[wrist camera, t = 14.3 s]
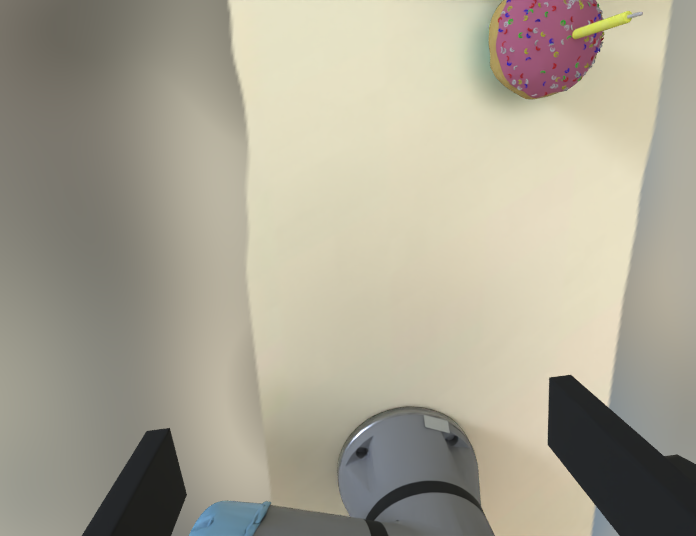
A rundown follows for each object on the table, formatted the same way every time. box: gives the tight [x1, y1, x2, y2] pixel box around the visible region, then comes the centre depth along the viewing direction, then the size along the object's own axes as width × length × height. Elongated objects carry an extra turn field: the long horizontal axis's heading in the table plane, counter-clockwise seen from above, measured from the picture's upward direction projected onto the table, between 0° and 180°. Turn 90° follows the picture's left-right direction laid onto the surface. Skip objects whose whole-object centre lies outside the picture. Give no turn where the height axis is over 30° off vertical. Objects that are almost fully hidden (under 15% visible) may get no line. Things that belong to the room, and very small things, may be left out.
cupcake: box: [489, 0, 643, 99], centre depth 31 cm, size 9×8×12 cm
